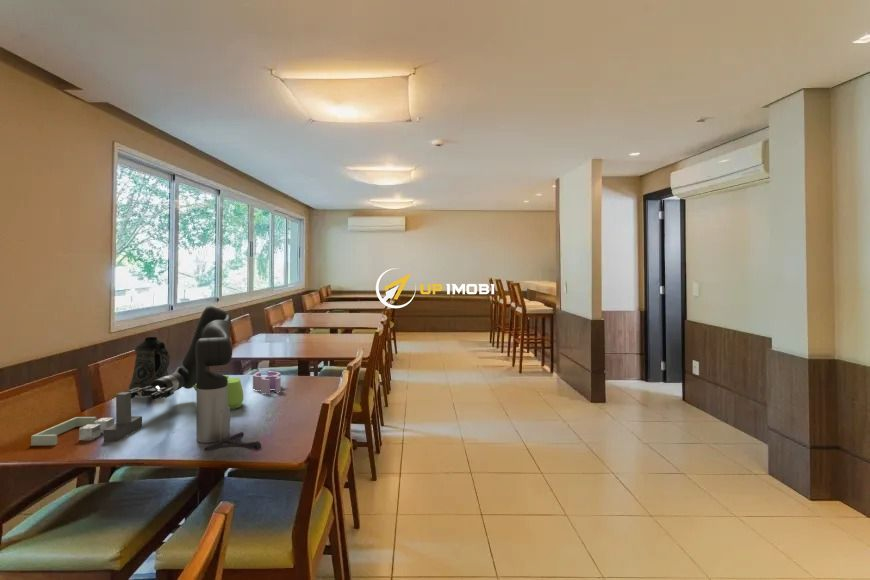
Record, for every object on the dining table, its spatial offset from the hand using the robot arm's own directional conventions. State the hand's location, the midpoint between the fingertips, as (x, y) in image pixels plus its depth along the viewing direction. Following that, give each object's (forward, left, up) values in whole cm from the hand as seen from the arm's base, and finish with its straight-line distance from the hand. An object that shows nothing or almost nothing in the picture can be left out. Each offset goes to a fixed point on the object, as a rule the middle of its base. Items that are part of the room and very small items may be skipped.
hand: (139, 397), depth 159 cm
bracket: (-43, +21, -11) cm, 48 cm away
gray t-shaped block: (0, +9, -10) cm, 13 cm away
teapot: (-19, -21, -10) cm, 30 cm away
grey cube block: (+8, +12, -10) cm, 18 cm away
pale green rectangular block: (+18, +9, -10) cm, 23 cm away
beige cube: (+8, +5, -10) cm, 14 cm away
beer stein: (+21, -48, -10) cm, 53 cm away
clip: (-30, -51, -10) cm, 60 cm away
